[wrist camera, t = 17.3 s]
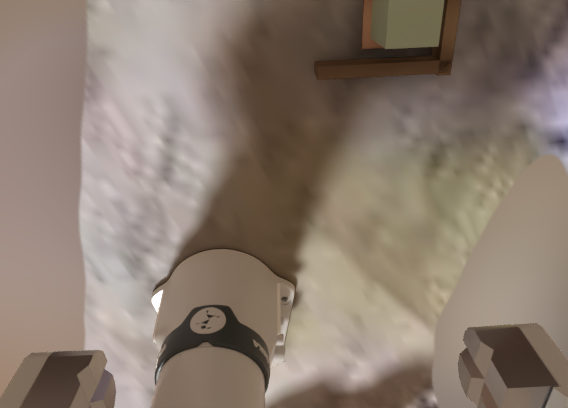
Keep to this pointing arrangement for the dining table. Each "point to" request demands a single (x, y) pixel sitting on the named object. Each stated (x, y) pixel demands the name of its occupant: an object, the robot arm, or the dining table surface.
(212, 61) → the dining table surface
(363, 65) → the brown flat wooden frame
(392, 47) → the sage block
